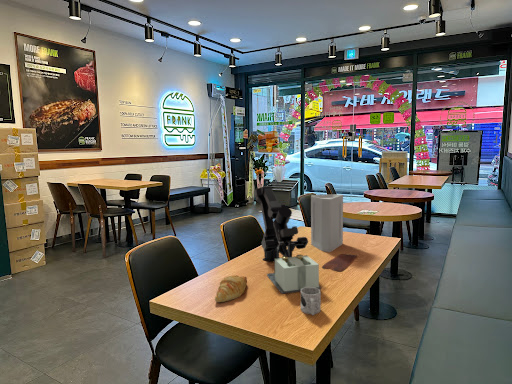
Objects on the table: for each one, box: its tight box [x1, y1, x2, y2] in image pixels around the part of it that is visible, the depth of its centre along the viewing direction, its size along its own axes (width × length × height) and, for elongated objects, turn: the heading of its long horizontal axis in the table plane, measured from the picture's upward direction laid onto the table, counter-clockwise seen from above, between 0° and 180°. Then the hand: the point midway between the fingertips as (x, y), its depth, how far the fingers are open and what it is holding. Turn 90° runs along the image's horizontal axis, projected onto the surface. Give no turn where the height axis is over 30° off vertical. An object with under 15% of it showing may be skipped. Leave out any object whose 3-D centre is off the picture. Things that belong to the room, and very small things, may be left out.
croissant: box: [214, 275, 248, 303], centre depth 130 cm, size 21×10×8 cm, turn 154°
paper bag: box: [310, 193, 344, 253], centre depth 189 cm, size 19×15×28 cm
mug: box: [300, 287, 322, 316], centre depth 113 cm, size 10×7×7 cm, turn 178°
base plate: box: [266, 254, 322, 295], centre depth 139 cm, size 20×16×11 cm
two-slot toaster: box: [274, 254, 320, 291], centre depth 135 cm, size 12×14×9 cm
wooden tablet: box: [321, 253, 358, 273], centre depth 163 cm, size 27×10×2 cm, turn 146°
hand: (290, 262), depth 141 cm, fingers closed
